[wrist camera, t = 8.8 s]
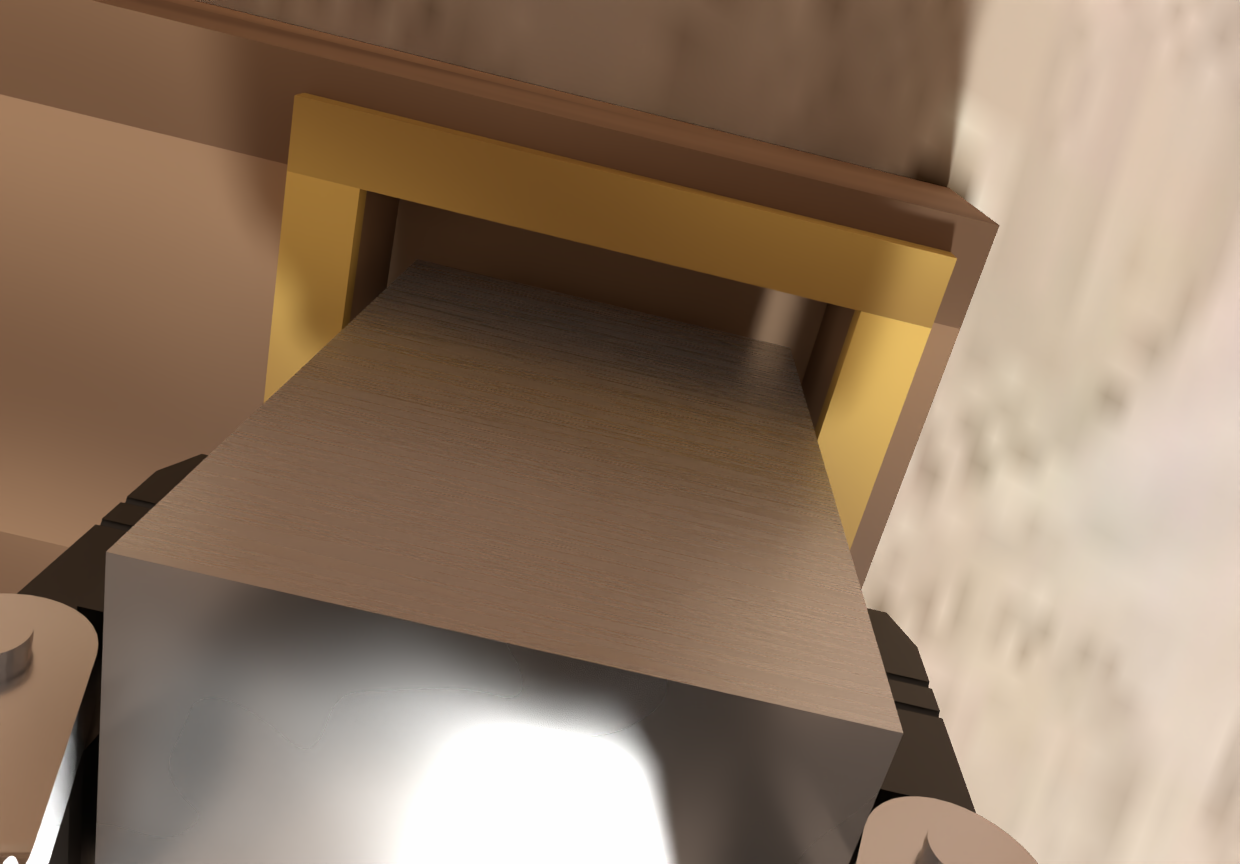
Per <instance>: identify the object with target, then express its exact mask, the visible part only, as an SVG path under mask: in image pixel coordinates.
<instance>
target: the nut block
mask: <svg viewBox="0 0 1240 864" xmlns="http://www.w3.org/2000/svg"><path fill="white" fill-rule="evenodd" d="M902 735H903V730H902V727H901V723H900V720H899V716H898V713H897V710H896V706H895V703H894V699H893V696H892V693H891V689H890V686H889V682H888V679H887V676H886V672H885V669H884V665H883V662H882V659H881V655H880V652H879V648H878V645H877V642H876V638H875V635H874V631H873V628H872V625H871V621H870V618H869V614H868V611H867V608H866V604H865V601H864V597H863V594H862V591H861V587H860V584H859V580H858V577H857V574H856V570H855V567H854V563H853V560H852V557H851V553H850V550H849V546H848V543H847V540H846V536H845V533H844V529H843V526H842V523H841V519H840V516H839V512H838V509H837V506H836V502H835V499H834V495H833V492H832V489H831V485H830V482H829V478H828V475H827V472H826V468H825V465H824V461H823V458H822V455H821V451H820V448H819V444H818V441H817V438H816V434H815V431H814V427H813V424H812V421H811V417H810V414H809V410H808V407H807V404H806V400H805V397H804V393H803V390H802V387H801V383H800V380H799V376H798V373H797V370H796V366H795V363H794V359H793V356H792V353H791V349H790V348H789V347H784V346H780V345H776V344H772V343H768V342H763V341H759V340H755V339H751V338H747V337H743V336H738V335H734V334H730V333H726V332H722V331H717V330H713V329H709V328H705V327H701V326H696V325H692V324H688V323H684V322H680V321H675V320H671V319H667V318H663V317H659V316H654V315H650V314H646V313H642V312H638V311H633V310H629V309H625V308H621V307H617V306H612V305H608V304H604V303H600V302H596V301H591V300H587V299H583V298H579V297H575V296H570V295H566V294H562V293H558V292H554V291H549V290H545V289H541V288H537V287H533V286H528V285H524V284H520V283H516V282H512V281H507V280H503V279H499V278H495V277H491V276H486V275H482V274H478V273H474V272H470V271H465V270H461V269H457V268H453V267H449V266H444V265H440V264H436V263H432V262H428V261H423V260H419V259H417V260H416V261H415V262H414V263H413V264H412V265H411V266H409V267H408V268H407V269H406V270H405V271H404V272H403V273H402V274H401V275H400V276H399V277H398V278H397V279H396V280H395V281H394V282H392V283H391V284H390V285H389V286H388V287H387V288H386V289H385V290H384V291H383V292H382V293H381V294H380V295H379V296H378V297H376V298H375V299H374V300H373V301H372V302H371V303H370V304H369V305H368V306H367V307H366V308H365V309H364V310H363V311H362V312H361V313H359V314H358V315H357V316H356V317H355V318H354V319H353V320H352V321H351V322H350V323H349V324H348V325H347V326H346V327H345V328H344V329H342V330H341V331H340V332H339V333H338V334H337V335H336V336H335V337H334V338H333V339H332V340H331V341H330V342H329V343H328V344H326V345H325V346H324V347H323V348H322V349H321V350H320V351H319V352H318V353H317V354H316V355H315V356H314V357H313V358H312V359H311V360H309V361H308V362H307V363H306V364H305V365H304V366H303V367H302V368H301V369H300V370H299V371H298V372H297V373H296V374H295V375H294V376H292V377H291V378H290V379H289V380H288V381H287V382H286V383H285V384H284V385H283V386H282V387H281V388H280V389H279V390H278V391H276V392H275V393H274V394H273V395H272V396H271V397H270V398H269V399H268V400H267V401H266V402H265V403H264V404H263V405H262V406H261V407H259V408H258V409H257V410H256V411H255V412H254V413H253V414H252V415H251V416H250V417H249V418H248V419H247V420H246V421H245V422H244V423H242V424H241V425H240V426H239V427H238V428H237V429H236V430H235V431H234V432H233V433H232V434H231V435H230V436H229V437H228V438H226V439H225V440H224V441H223V442H222V443H221V444H220V445H219V446H218V447H217V448H216V449H215V450H214V451H213V452H212V453H211V454H209V455H208V456H207V457H206V458H205V459H204V460H203V461H202V462H201V463H200V464H199V465H198V466H197V467H196V468H195V469H194V470H192V471H191V472H190V473H189V474H188V475H187V476H186V477H185V478H184V479H183V480H182V481H181V482H180V483H179V484H178V485H176V486H175V487H174V488H173V489H172V490H171V491H170V492H169V493H168V494H167V495H166V496H165V497H164V498H163V499H162V500H161V501H159V502H158V503H157V504H156V505H155V506H154V507H153V508H152V509H151V510H150V511H149V512H148V513H147V514H146V515H145V516H144V517H142V518H141V519H140V520H139V521H138V522H137V523H136V524H135V525H134V526H133V527H132V528H131V529H130V530H129V531H128V532H126V533H125V534H124V535H123V536H122V537H121V538H120V539H119V540H118V541H117V542H116V543H115V544H114V545H113V546H112V547H111V548H109V549H108V550H107V551H106V566H105V595H104V623H103V651H102V680H101V708H100V736H99V765H98V793H97V822H96V850H95V864H849V862H850V860H851V857H852V855H853V853H854V850H855V848H856V845H857V843H858V841H859V838H860V836H861V833H862V831H863V829H864V826H865V824H866V822H867V819H868V817H869V814H870V812H871V810H872V807H873V805H874V802H875V800H876V798H877V795H878V793H879V790H880V788H881V786H882V783H883V781H884V778H885V776H886V774H887V771H888V769H889V767H890V764H891V762H892V759H893V757H894V755H895V752H896V750H897V747H898V745H899V743H900V740H901V738H902Z"/></svg>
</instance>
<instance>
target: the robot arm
mask: <svg viewBox="0 0 1240 864" xmlns="http://www.w3.org/2000/svg"><path fill="white" fill-rule="evenodd" d="M207 456H208V455H205V454H200V455H197V456H195V457H192V458H189V459H187V460H184V461H181V462H179V463H176V464H173V465H171V466H168V467H165V468H163V469H160V470H157V471H155V472H154V473H153V474H152V475H151V476H150V477H149V478H148V479H146V480H145V481H144V482H143V483H142V484H141V485H140V486H138V487H137V488H136V489H135V490H134V491H133V492H132V493H131V494H129V495H128V496H127V498H126V502H125V503H123V502H120V503H119V504H118V505H117V506H116V507H115V508H113V509H112V510H111V511H110V512H109V513H108V514H107V515H106V516H104V517H103V518H102V521H101V524H100V525H96V524H95V525H94V526H93V527H92V528H91V529H90V530H88V531H87V532H86V533H85V534H84V535H83V536H82V537H81V538H79V539H78V540H77V541H76V542H75V543H74V544H73V545H71V546H70V547H69V548H68V549H67V550H66V551H65V552H63V553H62V554H61V555H60V556H59V557H58V558H57V559H56V560H54V561H53V562H52V563H51V564H50V565H49V566H48V567H46V568H45V569H44V570H43V571H42V572H41V573H40V574H38V575H37V576H36V577H35V578H34V579H33V580H32V581H31V582H29V583H28V584H27V585H26V586H25V587H24V588H23V589H21V590H20V591H19V592H18V593H17V594H13V593H0V864H95V850H96V822H97V793H98V765H99V736H100V708H101V680H102V651H103V623H104V595H105V566H106V551H107V550H108V549H109V548H111V547H112V546H113V545H114V544H115V543H116V542H117V541H118V540H119V539H120V538H121V537H122V536H123V535H124V534H125V533H126V532H128V531H129V530H130V529H131V528H132V527H133V526H134V525H135V524H136V523H137V522H138V521H139V520H140V519H141V518H142V517H144V516H145V515H146V514H147V513H148V512H149V511H150V510H151V509H152V508H153V507H154V506H155V505H156V504H157V503H158V502H159V501H161V500H162V499H163V498H164V497H165V496H166V495H167V494H168V493H169V492H170V491H171V490H172V489H173V488H174V487H175V486H176V485H178V484H179V483H180V482H181V481H182V480H183V479H184V478H185V477H186V476H187V475H188V474H189V473H190V472H191V471H192V470H194V469H195V468H196V467H197V466H198V465H199V464H200V463H201V462H202V461H203V460H204V459H205V458H206V457H207ZM867 611H868V614H869V618H870V621H871V625H872V628H873V631H874V635H875V638H876V642H877V645H878V648H879V652H880V655H881V659H882V662H883V665H884V669H885V672H886V676H887V679H888V682H889V686H890V689H891V693H892V696H893V699H894V703H895V706H896V710H897V713H898V716H899V720H900V723H901V727H902V730H903V735H902V738H901V740H900V743H899V745H898V747H897V750H896V752H895V755H894V757H893V759H892V762H891V764H890V767H889V769H888V771H887V774H886V776H885V778H884V781H883V783H882V786H881V788H880V790H879V793H878V795H877V798H876V800H875V802H874V805H873V807H872V810H871V812H870V814H869V817H868V819H867V822H866V824H865V826H864V829H863V831H862V833H861V836H860V838H859V841H858V843H857V845H856V848H855V850H854V853H853V855H852V857H851V860H850V862H849V864H1038V863H1037V862H1036V860H1035V859H1034V858H1033V857H1032V856H1031V855H1030V854H1029V853H1028V851H1027V850H1026V849H1025V848H1024V847H1023V846H1022V845H1020V844H1019V843H1018V842H1017V841H1016V840H1015V839H1014V838H1013V837H1011V836H1010V835H1009V834H1008V833H1006V832H1005V831H1004V830H1002V829H1001V828H999V827H998V826H997V825H995V824H994V823H992V822H990V821H989V820H987V819H985V818H984V817H982V816H980V815H978V814H976V812H975V809H974V806H973V804H972V801H971V798H970V795H969V792H968V789H967V787H966V784H965V781H964V778H963V775H962V772H961V770H960V767H959V764H958V761H957V758H956V756H955V753H954V750H953V747H952V744H951V741H950V739H949V736H948V733H947V730H946V727H945V724H944V722H943V719H941V718H939V712H940V710H939V708H938V705H937V702H936V699H935V696H934V693H933V691H932V689H930V688H928V685H929V679H928V676H927V674H926V671H925V668H924V665H923V662H922V660H921V657H920V654H919V651H918V648H917V646H916V645H915V644H914V643H913V642H912V641H911V640H910V639H909V637H908V636H907V635H906V634H905V633H904V632H903V631H902V630H901V628H900V627H899V626H898V625H897V624H896V623H895V622H894V621H893V619H892V618H891V617H890V616H889V615H888V614H887V613H885V612H881V611H876V610H872V609H868V608H867Z"/></svg>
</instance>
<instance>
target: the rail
mask: <svg viewBox="0 0 1240 864" xmlns="http://www.w3.org/2000/svg"><path fill="white" fill-rule="evenodd" d="M998 228H999V225H998V224H997V223H995V222H994V221H993V220H991V219H990V218H989V217H987V216H986V215H985V214H983V213H982V212H981V211H979V210H978V209H977V208H975V207H974V206H973V205H971V204H970V203H968V202H967V201H966V200H964V199H963V198H962V197H960V196H959V195H958V194H956V193H955V192H954V191H952V190H951V189H950V188H947V187H943V186H939V185H935V184H931V183H927V182H923V181H919V180H915V179H911V178H907V177H903V176H899V175H895V174H891V173H887V172H883V171H879V170H875V169H871V168H867V167H863V166H859V165H855V164H851V163H847V162H843V161H839V160H835V159H831V158H827V157H823V156H819V155H815V154H811V153H807V152H803V151H799V150H795V149H790V148H786V147H782V146H778V145H774V144H770V143H766V142H762V141H758V140H754V139H750V138H746V137H742V136H738V135H734V134H730V133H726V132H722V131H718V130H714V129H710V128H706V127H702V126H698V125H694V124H690V123H686V122H682V121H678V120H674V119H670V118H666V117H662V116H658V115H654V114H650V113H646V112H642V111H638V110H634V109H630V108H626V107H622V106H618V105H614V104H610V103H606V102H601V101H597V100H593V99H589V98H585V97H581V96H577V95H573V94H569V93H565V92H561V91H557V90H553V89H549V88H545V87H541V86H537V85H533V84H529V83H525V82H521V81H517V80H513V79H509V78H505V77H501V76H497V75H493V74H489V73H485V72H481V71H477V70H473V69H469V68H465V67H461V66H457V65H453V64H449V63H445V62H441V61H437V60H433V59H429V58H425V57H421V56H416V55H412V54H408V53H404V52H400V51H396V50H392V49H388V48H384V47H380V46H376V45H372V44H368V43H364V42H360V41H356V40H352V39H348V38H344V37H340V36H336V35H332V34H328V33H324V32H320V31H316V30H312V29H308V28H304V27H300V26H296V25H292V24H288V23H284V22H280V21H276V20H272V19H268V18H264V17H260V16H256V15H252V14H248V13H244V12H240V11H236V10H232V9H227V8H223V7H219V6H215V5H211V4H207V3H203V2H199V1H195V0H0V593H13V594H17V593H18V592H19V591H20V590H21V589H23V588H24V587H25V586H26V585H27V584H28V583H29V582H31V581H32V580H33V579H34V578H35V577H36V576H37V575H38V574H40V573H41V572H42V571H43V570H44V569H45V568H46V567H48V566H49V565H50V564H51V563H52V562H53V561H54V560H56V559H57V558H58V557H59V556H60V555H61V554H62V553H63V552H65V551H66V550H67V549H68V548H69V547H70V546H71V545H73V544H74V543H75V542H76V541H77V540H78V539H79V538H81V537H82V536H83V535H84V534H85V533H86V532H87V531H88V530H90V529H91V528H92V527H93V526H94V525H95V524H96V525H100V524H101V521H102V518H103V517H104V516H106V515H107V514H108V513H109V512H110V511H111V510H112V509H113V508H115V507H116V506H117V505H118V504H119V503H120V502H123V503H125V502H126V498H127V496H128V495H129V494H131V493H132V492H133V491H134V490H135V489H136V488H137V487H138V486H140V485H141V484H142V483H143V482H144V481H145V480H146V479H148V478H149V477H150V476H151V475H152V474H153V473H154V472H155V471H157V470H160V469H163V468H165V467H168V466H171V465H173V464H176V463H179V462H181V461H184V460H187V459H189V458H192V457H195V456H197V455H200V454H205V455H209V454H211V453H212V452H213V451H214V450H215V449H216V448H217V447H218V446H219V445H220V444H221V443H222V442H223V441H224V440H225V439H226V438H228V437H229V436H230V435H231V434H232V433H233V432H234V431H235V430H236V429H237V428H238V427H239V426H240V425H241V424H242V423H244V422H245V421H246V420H247V419H248V418H249V417H250V416H251V415H252V414H253V413H254V412H255V411H256V410H257V409H258V408H259V407H261V406H262V405H263V404H264V403H265V402H266V401H267V400H268V399H269V398H270V397H271V396H272V395H273V394H274V393H275V392H276V391H278V390H279V389H280V388H281V387H282V386H283V385H284V384H285V383H286V382H287V381H288V380H289V379H290V378H291V377H292V376H294V375H295V374H296V373H297V372H298V371H299V370H300V369H301V368H302V367H303V366H304V365H305V364H306V363H307V362H308V361H309V360H311V359H312V358H313V357H314V356H315V355H316V354H317V353H318V352H319V351H320V350H321V349H322V348H323V347H324V346H325V345H326V344H328V343H329V342H330V341H331V340H332V339H333V338H334V337H335V336H336V335H337V334H338V333H339V332H340V331H341V330H342V329H344V328H345V327H346V326H347V325H348V324H349V323H350V322H351V321H352V320H353V319H354V318H355V317H356V316H357V315H358V314H359V313H361V312H362V311H363V310H364V309H365V308H366V307H367V306H368V305H369V304H370V303H371V302H372V301H373V300H374V299H375V298H376V297H378V296H379V295H380V294H381V293H382V292H383V291H384V290H385V289H386V288H387V287H388V286H389V285H390V284H391V283H392V282H394V281H395V280H396V279H397V278H398V277H399V276H400V275H401V274H402V273H403V272H404V271H405V270H406V269H407V268H408V267H409V266H411V265H412V264H413V263H414V262H415V261H416V260H417V259H419V260H423V261H428V262H432V263H436V264H440V265H444V266H449V267H453V268H457V269H461V270H465V271H470V272H474V273H478V274H482V275H486V276H491V277H495V278H499V279H503V280H507V281H512V282H516V283H520V284H524V285H528V286H533V287H537V288H541V289H545V290H549V291H554V292H558V293H562V294H566V295H570V296H575V297H579V298H583V299H587V300H591V301H596V302H600V303H604V304H608V305H612V306H617V307H621V308H625V309H629V310H633V311H638V312H642V313H646V314H650V315H654V316H659V317H663V318H667V319H671V320H675V321H680V322H684V323H688V324H692V325H696V326H701V327H705V328H709V329H713V330H717V331H722V332H726V333H730V334H734V335H738V336H743V337H747V338H751V339H755V340H759V341H763V342H768V343H772V344H776V345H780V346H784V347H789V348H790V349H791V353H792V356H793V359H794V363H795V366H796V370H797V373H798V376H799V380H800V383H801V387H802V390H803V393H804V397H805V400H806V404H807V407H808V410H809V414H810V417H811V421H812V424H813V427H814V431H815V434H816V438H817V441H818V444H819V448H820V451H821V455H822V458H823V461H824V465H825V468H826V472H827V475H828V478H829V482H830V485H831V489H832V492H833V495H834V499H835V502H836V506H837V509H838V512H839V516H840V519H841V523H842V526H843V529H844V533H845V536H846V540H847V543H848V546H849V550H850V553H851V557H852V560H853V563H854V567H855V570H856V574H857V577H858V580H859V584H860V587H861V589H862V586H863V583H864V581H865V578H866V575H867V573H868V570H869V567H870V565H871V562H872V560H873V557H874V554H875V552H876V549H877V546H878V544H879V541H880V538H881V536H882V533H883V531H884V528H885V525H886V523H887V520H888V517H889V515H890V512H891V510H892V507H893V504H894V502H895V499H896V496H897V494H898V491H899V488H900V486H901V483H902V481H903V478H904V475H905V473H906V470H907V467H908V465H909V462H910V459H911V457H912V454H913V452H914V449H915V446H916V444H917V441H918V438H919V436H920V433H921V431H922V428H923V425H924V423H925V420H926V417H927V415H928V412H929V409H930V407H931V404H932V402H933V399H934V396H935V394H936V391H937V388H938V386H939V383H940V380H941V378H942V375H943V373H944V370H945V367H946V365H947V362H948V359H949V357H950V354H951V352H952V349H953V346H954V344H955V341H956V338H957V336H958V333H959V330H960V328H961V325H962V323H963V320H964V317H965V315H966V312H967V309H968V307H969V304H970V301H971V299H972V296H973V294H974V291H975V288H976V286H977V283H978V280H979V278H980V275H981V273H982V270H983V267H984V265H985V262H986V259H987V257H988V254H989V251H990V249H991V246H992V244H993V241H994V238H995V236H996V233H997V230H998Z"/></svg>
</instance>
